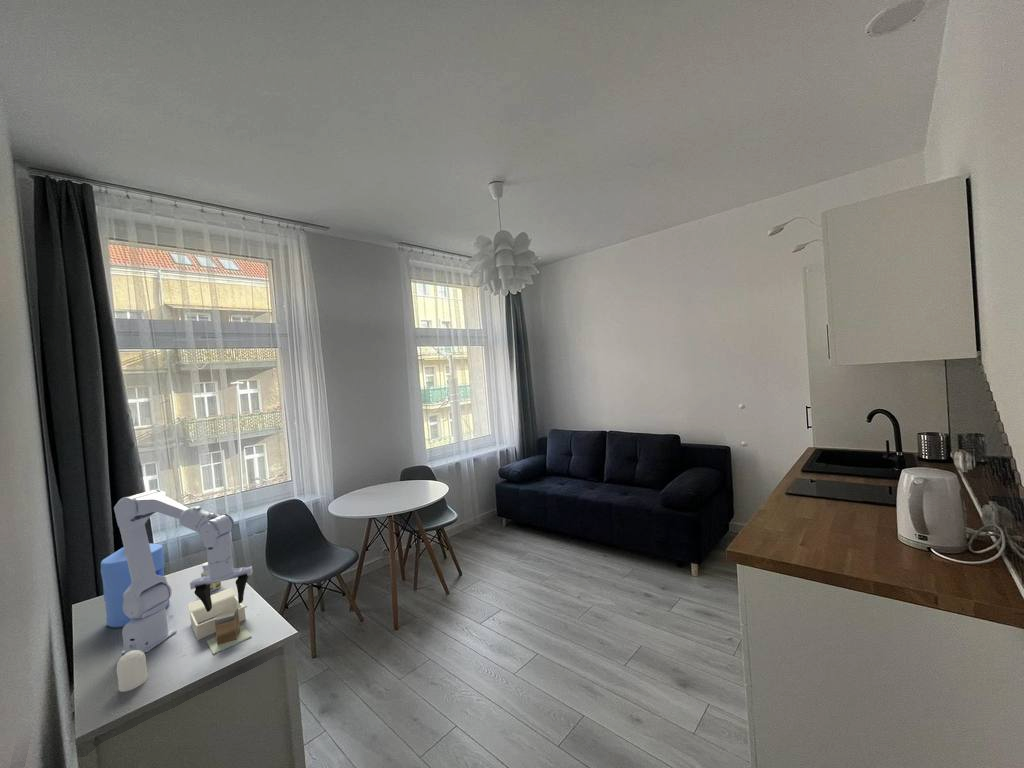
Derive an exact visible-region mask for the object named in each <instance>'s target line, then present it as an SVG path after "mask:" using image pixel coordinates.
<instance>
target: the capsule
mask: <svg viewBox="0 0 1024 768" xmlns="http://www.w3.org/2000/svg"><path fill="white" fill-rule="evenodd" d="M116 663H117V665H116V676H117V685H118V691H119V692H121V693H123V692H128V691H132V690H133V689H136V688H138V687H139V686H141V685H143V684H144V683H145V682H147V680H148V679H149V678H148V677H149V676H148V668H147V658H146V654H145V653H144V652H142V651H140V650H132V651H129V652H127V653H124V654H123V655H122V656H121V657H120V658H119V660H118V661H117V662H116Z"/></svg>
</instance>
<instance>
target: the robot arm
mask: <svg viewBox="0 0 1024 768" xmlns="http://www.w3.org/2000/svg"><path fill="white" fill-rule="evenodd" d="M113 510H114V511H113V512H114V514H115V519H116V523H117V526H118V528H119V529H118V530H119V532H120V535H121V536H120V537H121V541H122V545H123V547H124V550H125V555H126V559H127V563H128V568H129V572H130V576H131V581H132V583H131V585H130V586H129V587H128V589H127V590H126V591H125V592H124V594H123V598H124V603H123V612H124V614H125V615H126V616H127V617H129V618H130V619H131V621H130V622H129V623H128V624H126V625H125V626H124V627H122V630H121V631H122V632H121V634H122V643H123V650H122V651H121V654H126V653H127V652H129V651H132V650H140V651H142V652H144V654H145V653H148V652H149V651H151V650H152V649H154V648H155V647H157V646H158V645H159V644H161V643H162V642H164V641H166V640H167V639H168V638H170V637H171V636H172V635H174V634H175V633H177V632H178V631H177V630H176V629H173V630H171V629H170V630H169V627H168V626H169V625H168V617H167V607H165V605H167V604H168V601H167V600H169V601H170V599H171V597H172V591H173V590H172V588H171V585H170V584H169V583H168V581H167V577H166V576H165V575H164V576H160V575H157V571H155V567H154V563H153V558H152V554H151V550H150V545H149V543H150V541H149V538H148V534H147V530H146V523H147V522H148V520H149V519H150V518H151V516H153V515H154V514H156V513H159V514H163V515H165V516H168V517H171V518H174V519H178V520H179V524H180V526H182V527H184V528H187V529H189V530H192V531H194V532H195V533H197V534H198V536H199V537H200V539H201V540H202V542H203V546H204V548H206V557H207V562H208V568H209V575H207V576H204V577H201V576H200V577H198V578H195V579H194V578H193V579H191V581H190V582H189V586H190V590H194V591H193V592H194V594H195V596H196V597H198V599H199V600H201V601H202V602H203V604H204V606H205V608H206V611H207V612H209V611H210V610H211V608H212V602H211V596H210V595H211V592H210V584H212V583H216V582H221V583H222V582H225V581H229V580H232V579H236V580H235V586H236V590H237V598H238V602H239V603H242V604H243V601H244V595H245V594H244V593H245V588H246V585H247V582H248V578H249V576H252V574H253V573H254V572H253V571H254V570H253V566H252V565H251V566H244V567H237V568H234V559H233V550H232V542H231V541H232V540H231V532H232V531H233V530H234V526H235V522H234V519H233V518H232V517H231V515H229V514H228V513H221V514H215V513H214V512H211V511H208V510H206V509H203V508H202V506H200V505H196V506H191V507H189V506H185V505H184V504H182V503H180V502H178V501H176V500H174V499H173V498H170V497H169V496H168V494H167V492H166V491H163V490H161V489H159V488H153V489H150V490H148V491H144V492H141V493H137V494H133V495H129V496H124V497H122V498H120V499H119V500H118V501H117V503H116V504H115V505H114V507H113Z"/></svg>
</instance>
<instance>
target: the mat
mask: <svg viewBox="0 0 1024 768" xmlns="http://www.w3.org/2000/svg"><path fill="white" fill-rule="evenodd" d="M251 638H252V635H251V632H249V630H248V629H247V628H246V627H245V625H244V624H243V625H240V633H239V635H238V637H237V639H236V640H234V641H230V642H227V643H223V644H220V645H217V636H214V637H212V638H210V639H208V640H207V641H206V642H207V645H208V646H209V649H210V651H211V654H212V655H213V654H214V655H216V654H219V653H220V652H219V651H221V650H223V651H224V649H225V650H227V649H229V648H231V647H230V646H232V647H233V645H234V646H236V645H238V644H240V643H242V642H245V641H247V640H249V639H251ZM228 647H229V648H228ZM226 648H227V649H226ZM221 652H222V651H221ZM215 653H216V654H215Z"/></svg>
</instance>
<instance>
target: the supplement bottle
mask: <svg viewBox="0 0 1024 768" xmlns="http://www.w3.org/2000/svg"><path fill="white" fill-rule="evenodd" d="M201 566H202V570H201V572H200V578H201V577H204V576H207V575H209V568H208V561H207V562H204V563H202V565H201ZM221 586H222V581H221V582H216V583H212V584H210V593H211V592H213V591H215V590H218V589H220V588H221Z"/></svg>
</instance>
